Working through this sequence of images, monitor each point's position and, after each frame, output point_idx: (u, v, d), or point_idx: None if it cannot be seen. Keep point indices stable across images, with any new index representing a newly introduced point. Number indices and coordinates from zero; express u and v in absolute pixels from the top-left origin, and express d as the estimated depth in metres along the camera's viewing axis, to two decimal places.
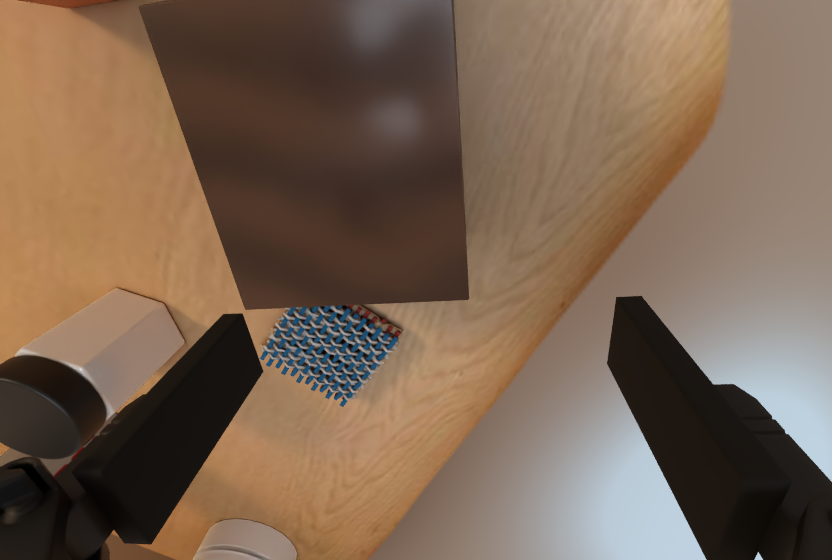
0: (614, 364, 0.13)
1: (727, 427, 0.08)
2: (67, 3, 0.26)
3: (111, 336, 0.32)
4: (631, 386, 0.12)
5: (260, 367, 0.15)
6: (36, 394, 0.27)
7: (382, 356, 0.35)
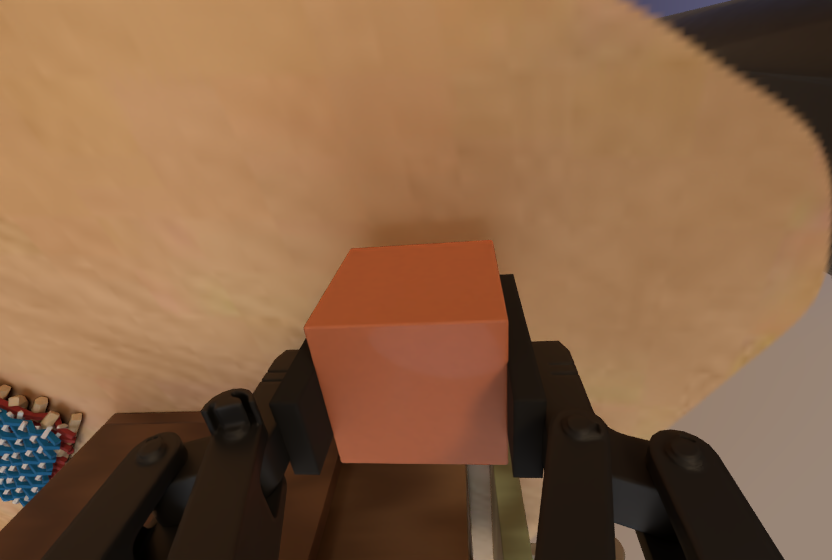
0: None
1: (522, 366, 0.10)
2: None
3: None
4: None
5: None
6: None
7: (3, 499, 0.28)
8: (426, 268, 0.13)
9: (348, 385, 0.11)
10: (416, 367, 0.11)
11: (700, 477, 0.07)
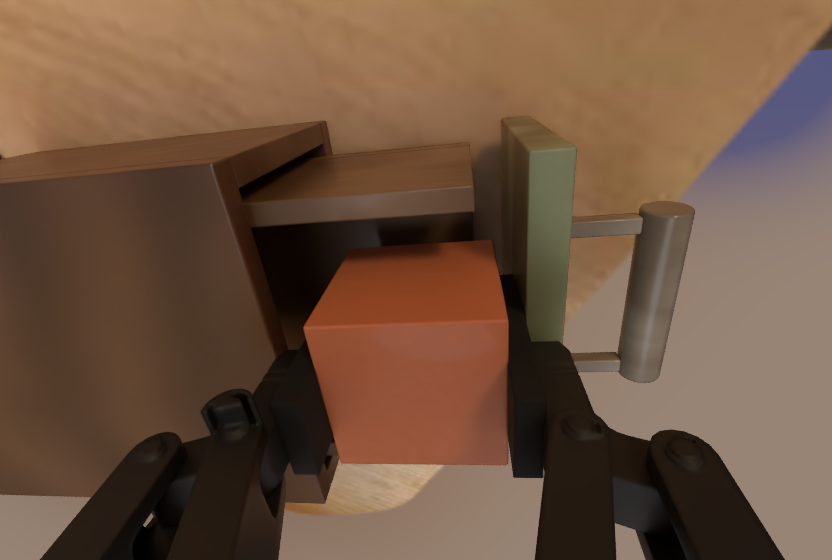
0: None
1: (523, 367, 0.10)
2: None
3: None
4: None
5: None
6: None
7: None
8: (426, 268, 0.13)
9: (348, 385, 0.11)
10: (415, 367, 0.11)
11: (700, 477, 0.07)
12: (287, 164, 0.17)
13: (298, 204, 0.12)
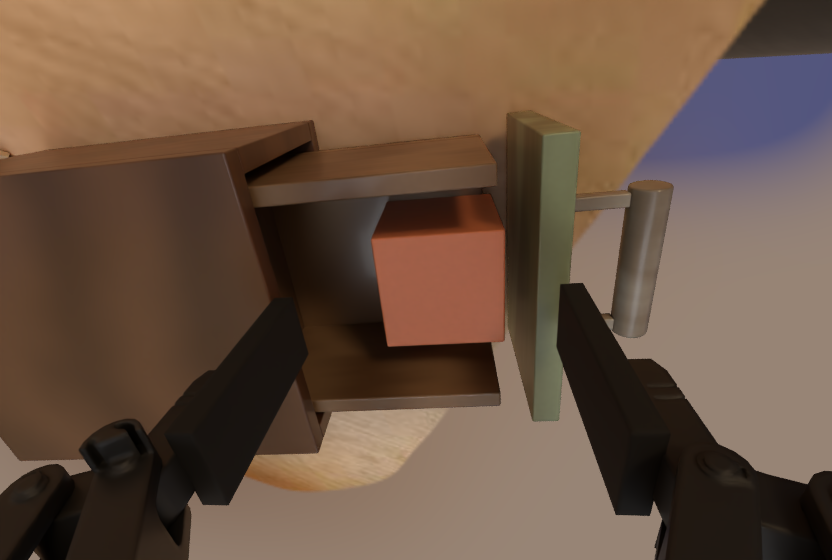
0: (560, 346, 0.14)
1: (628, 391, 0.09)
2: None
3: None
4: (570, 364, 0.13)
5: (306, 349, 0.16)
6: None
7: None
8: (446, 209, 0.19)
9: (397, 282, 0.17)
10: (444, 266, 0.16)
11: None
12: (319, 154, 0.20)
13: (349, 182, 0.14)
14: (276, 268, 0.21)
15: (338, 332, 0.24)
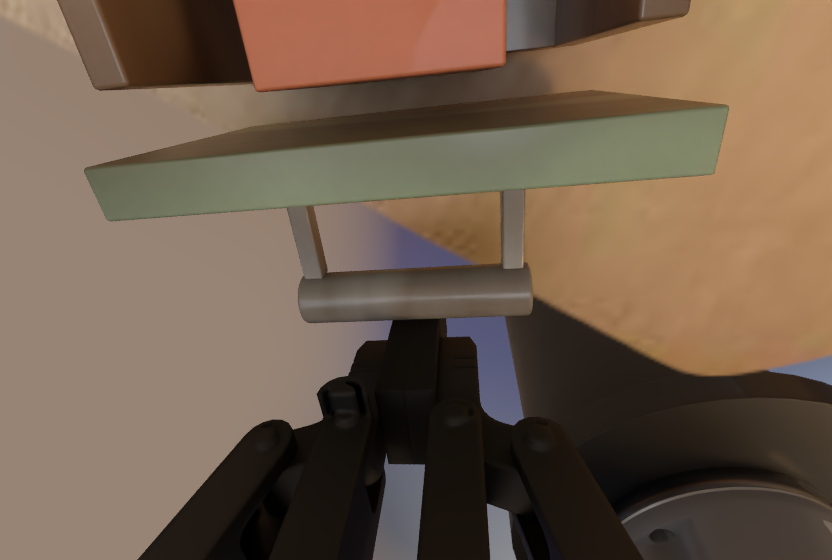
0: None
1: (421, 360, 0.11)
2: None
3: None
4: None
5: None
6: None
7: None
8: None
9: None
10: None
11: (552, 457, 0.08)
12: None
13: None
14: None
15: None
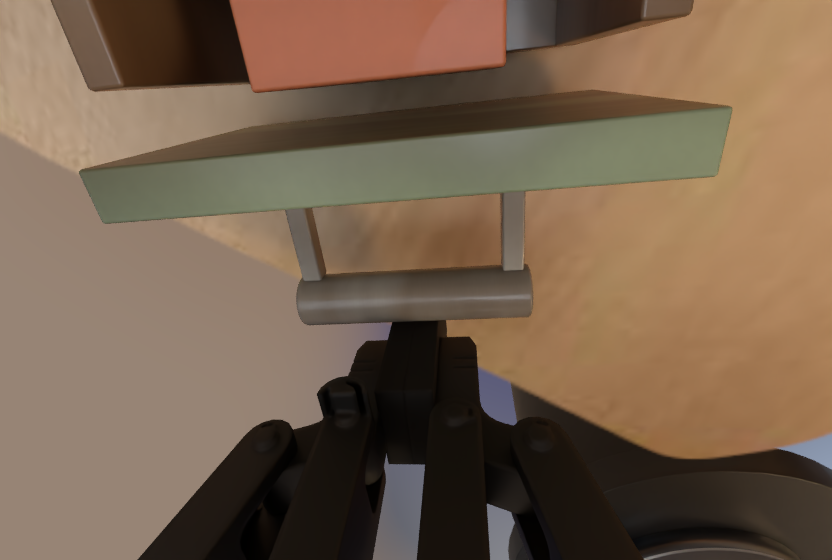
0: None
1: (421, 360, 0.11)
2: None
3: None
4: None
5: None
6: None
7: None
8: None
9: None
10: None
11: (552, 457, 0.08)
12: None
13: None
14: None
15: None
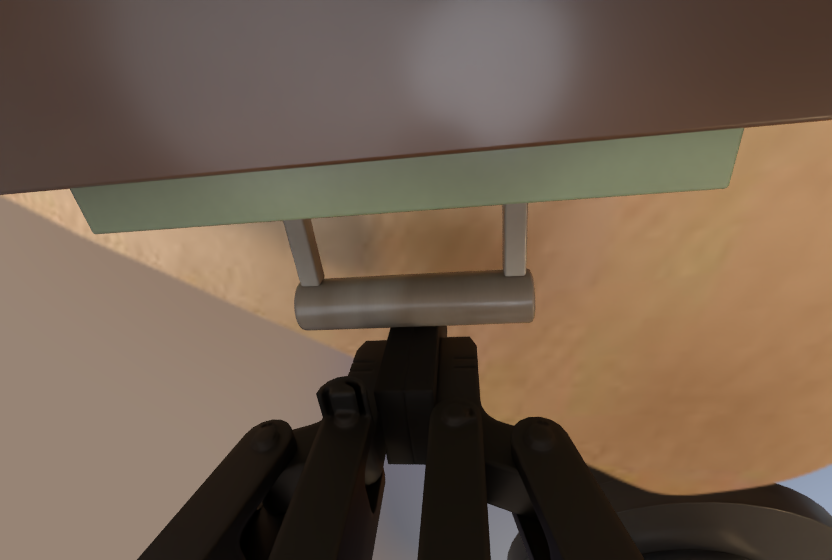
0: None
1: (421, 360, 0.11)
2: None
3: None
4: None
5: None
6: None
7: None
8: None
9: None
10: None
11: (553, 457, 0.08)
12: None
13: None
14: None
15: None
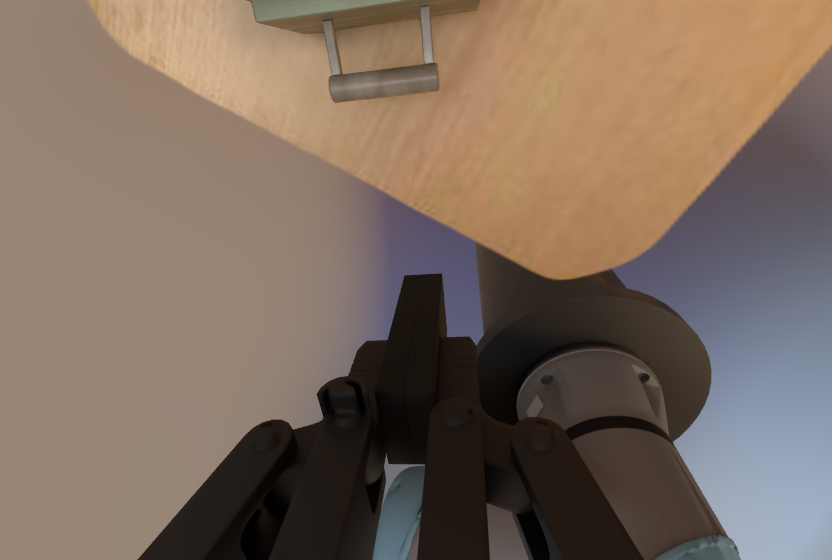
0: None
1: (421, 360, 0.11)
2: None
3: None
4: None
5: None
6: None
7: None
8: None
9: None
10: None
11: (552, 457, 0.08)
12: None
13: None
14: None
15: None
